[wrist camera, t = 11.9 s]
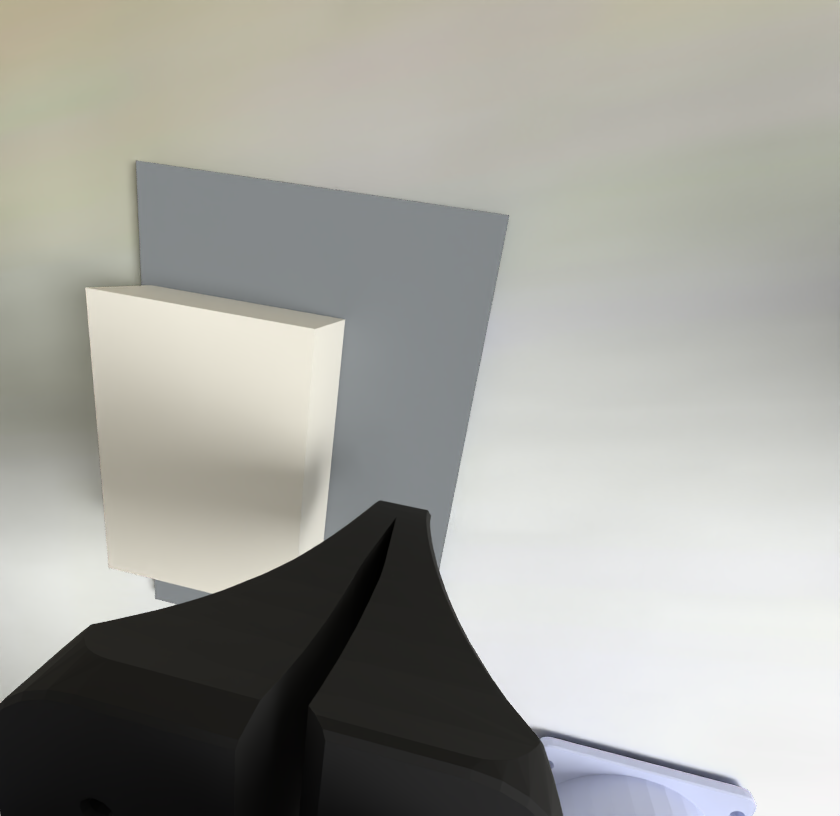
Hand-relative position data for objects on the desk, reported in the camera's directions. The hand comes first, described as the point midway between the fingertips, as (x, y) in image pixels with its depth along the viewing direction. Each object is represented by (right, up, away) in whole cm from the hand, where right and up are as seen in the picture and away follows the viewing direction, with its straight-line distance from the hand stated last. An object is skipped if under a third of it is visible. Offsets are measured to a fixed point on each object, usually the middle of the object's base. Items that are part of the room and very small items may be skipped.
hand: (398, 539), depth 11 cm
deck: (-3, +1, +3) cm, 4 cm away
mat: (-4, +2, +4) cm, 6 cm away
